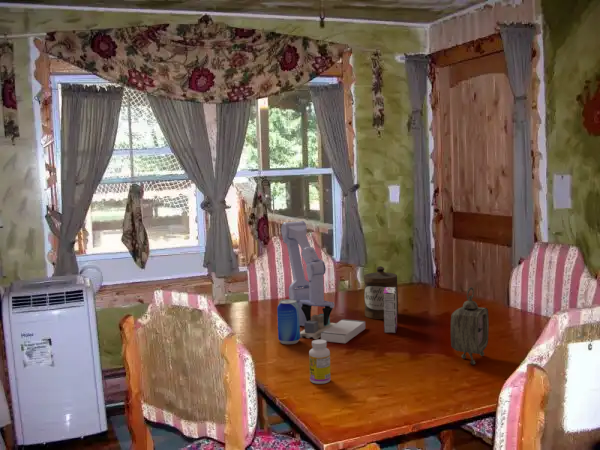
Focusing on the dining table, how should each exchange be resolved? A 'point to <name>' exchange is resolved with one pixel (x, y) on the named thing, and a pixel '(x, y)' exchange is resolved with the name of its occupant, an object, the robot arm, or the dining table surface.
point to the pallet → (318, 334)
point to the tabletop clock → (470, 328)
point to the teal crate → (323, 319)
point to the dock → (343, 331)
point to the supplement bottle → (319, 362)
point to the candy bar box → (390, 310)
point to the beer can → (288, 321)
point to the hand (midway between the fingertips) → (317, 323)
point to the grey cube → (311, 326)
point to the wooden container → (378, 292)
